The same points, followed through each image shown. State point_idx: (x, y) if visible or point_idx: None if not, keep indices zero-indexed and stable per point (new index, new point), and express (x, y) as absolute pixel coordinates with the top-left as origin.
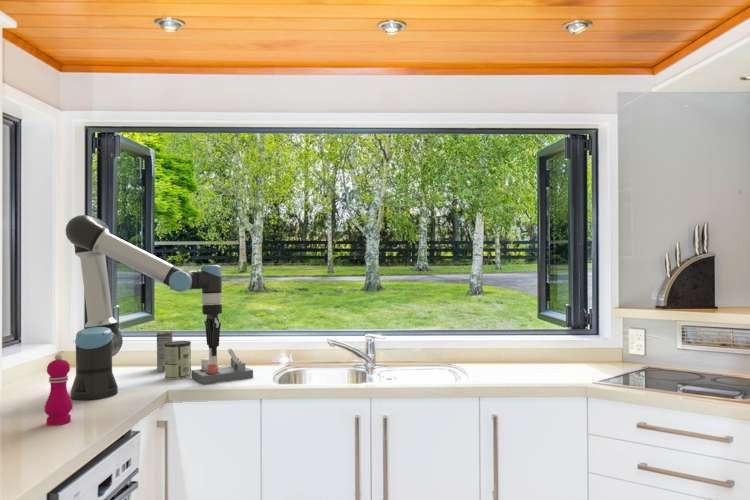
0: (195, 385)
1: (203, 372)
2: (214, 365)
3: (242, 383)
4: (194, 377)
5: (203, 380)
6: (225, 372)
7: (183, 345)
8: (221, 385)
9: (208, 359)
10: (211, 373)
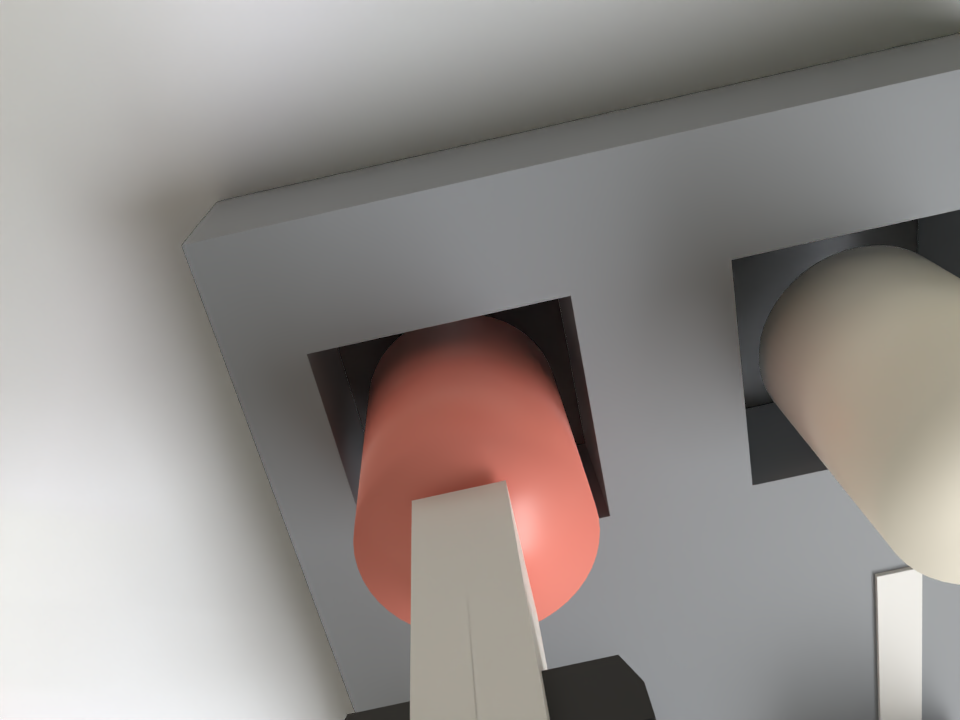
0: (158, 48)
1: (642, 278)
2: (357, 566)
3: (86, 716)
4: (788, 79)
5: (202, 222)
6: None
7: None
8: (19, 465)
9: (898, 516)
10: (368, 416)
